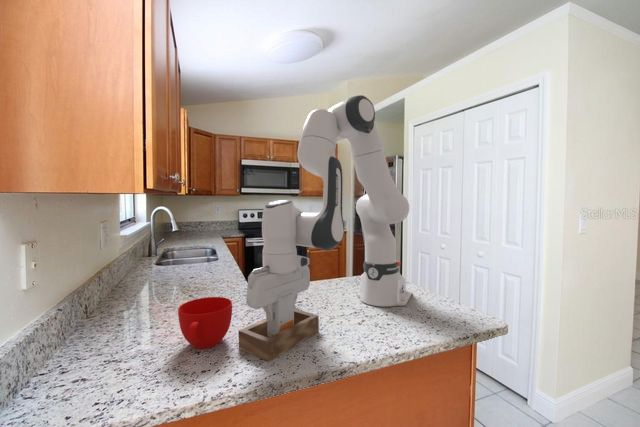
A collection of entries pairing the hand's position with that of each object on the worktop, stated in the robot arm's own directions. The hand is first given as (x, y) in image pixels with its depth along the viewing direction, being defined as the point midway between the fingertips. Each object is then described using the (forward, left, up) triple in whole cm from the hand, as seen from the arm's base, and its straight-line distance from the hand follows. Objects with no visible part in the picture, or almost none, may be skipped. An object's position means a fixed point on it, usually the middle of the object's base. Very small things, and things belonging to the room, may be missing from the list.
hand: (281, 315), depth 78 cm
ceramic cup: (+14, -13, -7) cm, 20 cm away
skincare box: (0, 0, -5) cm, 5 cm away
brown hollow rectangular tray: (0, 0, -7) cm, 7 cm away
